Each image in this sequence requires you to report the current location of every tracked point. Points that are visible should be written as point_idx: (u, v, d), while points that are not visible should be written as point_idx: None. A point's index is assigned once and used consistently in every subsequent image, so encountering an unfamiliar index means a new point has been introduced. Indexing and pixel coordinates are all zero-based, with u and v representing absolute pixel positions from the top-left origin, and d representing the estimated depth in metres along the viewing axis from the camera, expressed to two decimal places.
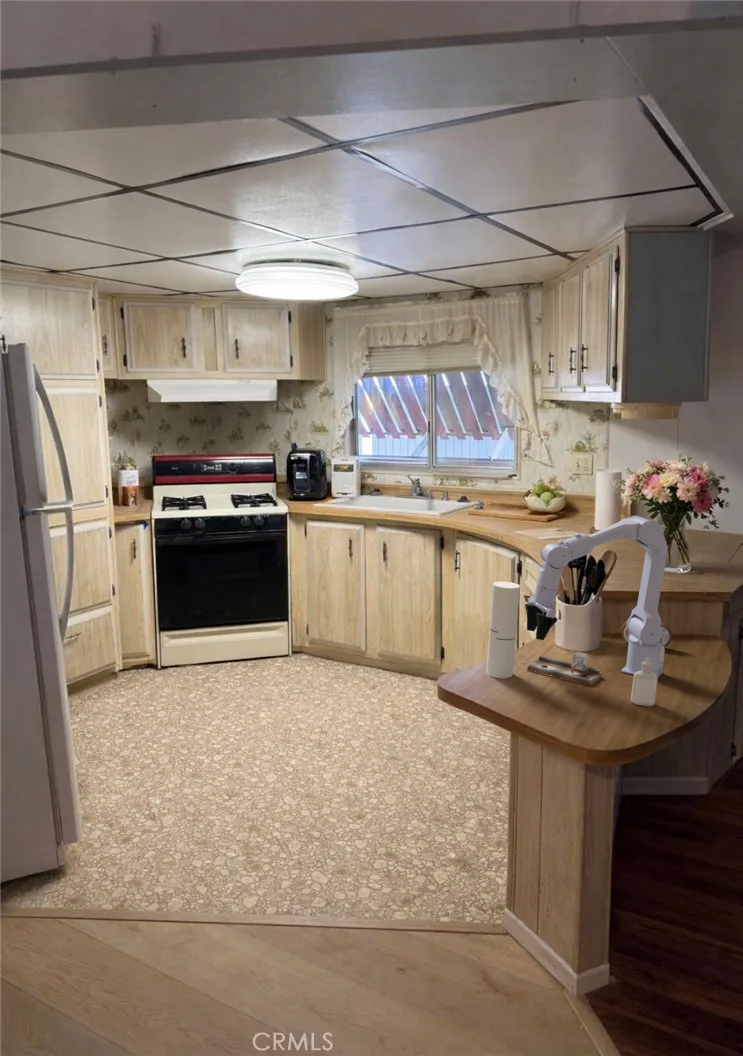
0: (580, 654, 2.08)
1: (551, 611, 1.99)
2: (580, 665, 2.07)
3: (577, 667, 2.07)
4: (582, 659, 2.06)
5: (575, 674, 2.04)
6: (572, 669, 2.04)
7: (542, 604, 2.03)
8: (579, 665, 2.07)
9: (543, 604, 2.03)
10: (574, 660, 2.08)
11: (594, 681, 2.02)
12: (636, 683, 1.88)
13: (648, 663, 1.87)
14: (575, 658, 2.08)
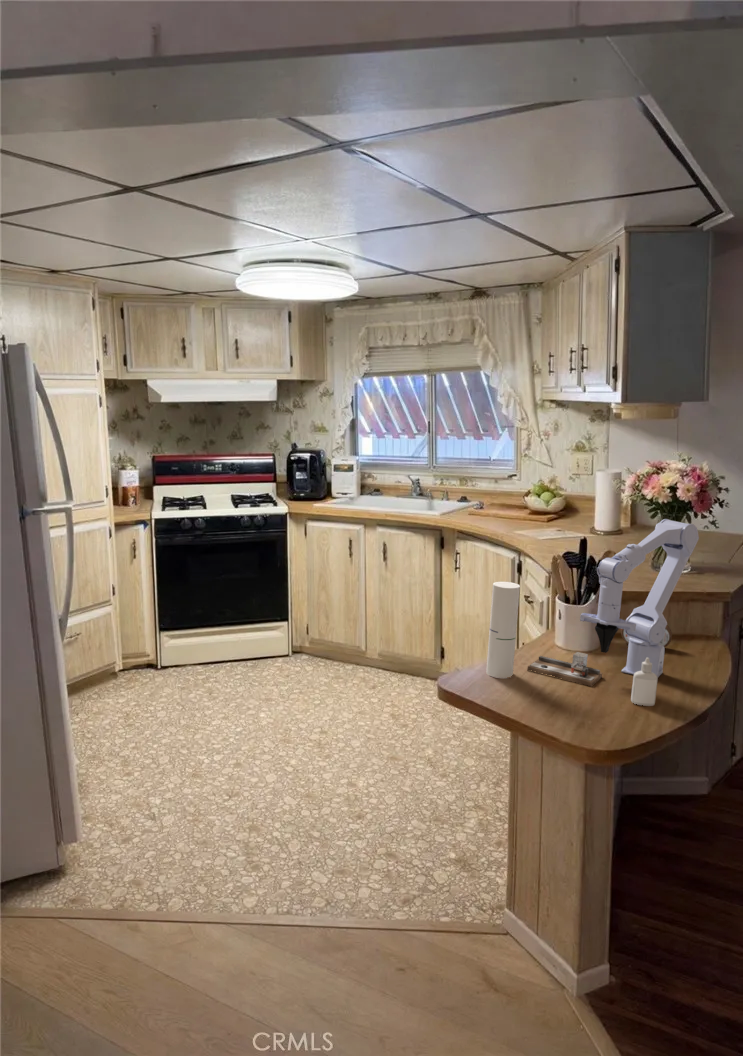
0: (580, 654, 2.08)
1: (634, 625, 1.99)
2: (580, 665, 2.07)
3: (577, 667, 2.07)
4: (582, 659, 2.06)
5: (575, 674, 2.04)
6: (572, 669, 2.04)
7: (616, 621, 2.00)
8: (579, 665, 2.07)
9: (617, 620, 2.00)
10: (574, 660, 2.08)
11: (594, 681, 2.02)
12: (636, 683, 1.88)
13: (648, 663, 1.87)
14: (575, 658, 2.08)
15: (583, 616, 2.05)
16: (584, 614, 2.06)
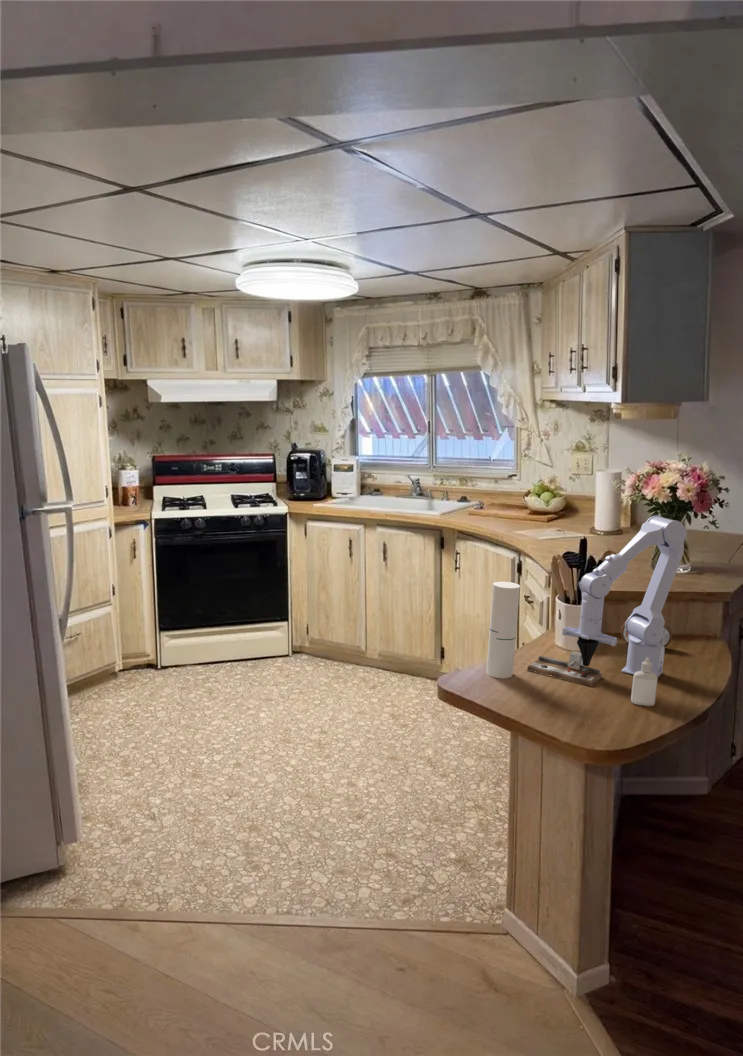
0: (576, 653, 2.09)
1: (615, 639, 2.02)
2: (577, 664, 2.07)
3: (574, 666, 2.08)
4: (579, 658, 2.07)
5: (575, 674, 2.04)
6: (569, 668, 2.04)
7: (597, 635, 2.04)
8: (576, 664, 2.08)
9: (598, 635, 2.04)
10: (571, 659, 2.08)
11: (594, 681, 2.02)
12: (636, 683, 1.88)
13: (648, 663, 1.87)
14: (572, 657, 2.08)
15: (565, 630, 2.09)
16: (566, 628, 2.09)
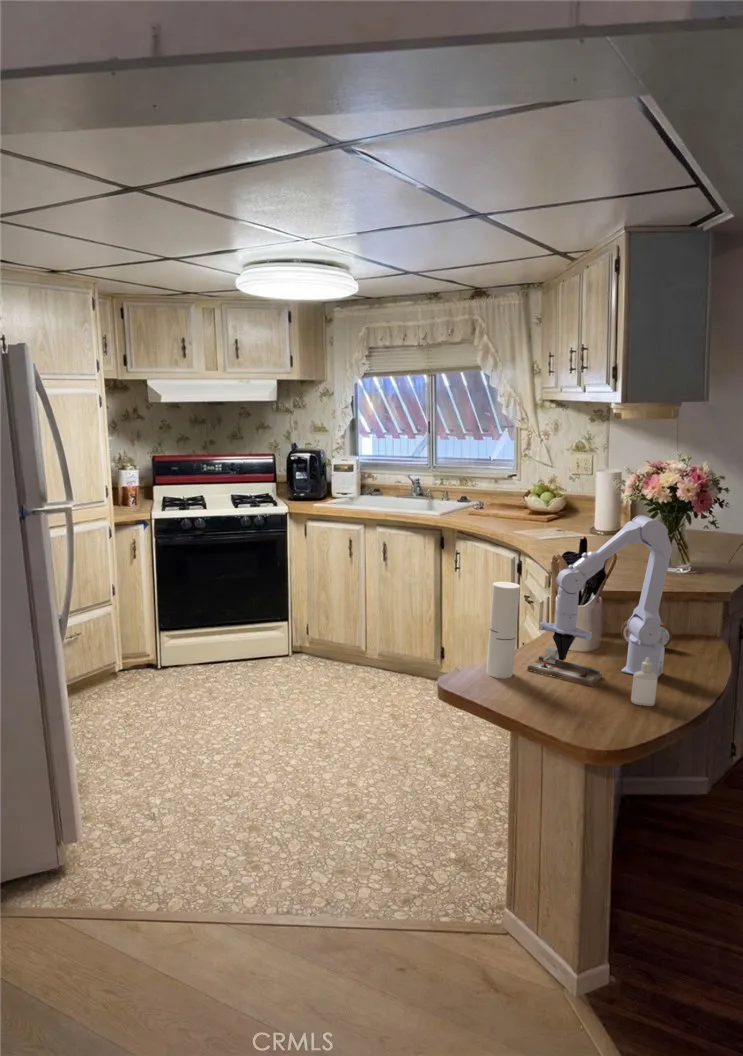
0: (552, 648, 2.13)
1: (590, 634, 2.06)
2: (553, 658, 2.11)
3: (550, 660, 2.12)
4: (554, 653, 2.11)
5: (575, 674, 2.04)
6: (544, 662, 2.08)
7: (572, 630, 2.07)
8: (552, 658, 2.11)
9: (573, 629, 2.08)
10: (547, 654, 2.12)
11: (594, 681, 2.02)
12: (636, 683, 1.88)
13: (648, 663, 1.87)
14: (548, 652, 2.12)
15: (542, 625, 2.13)
16: (543, 623, 2.13)
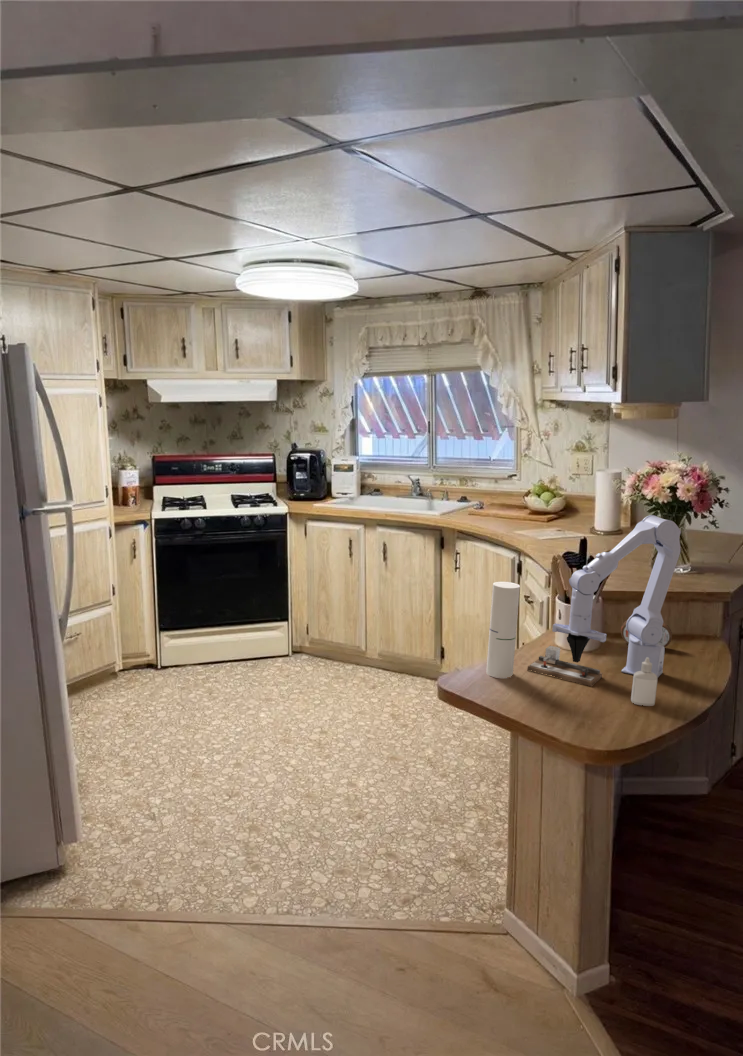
0: (552, 648, 2.13)
1: (605, 636, 2.03)
2: (552, 658, 2.11)
3: (550, 660, 2.12)
4: (554, 653, 2.11)
5: (575, 674, 2.04)
6: (544, 662, 2.08)
7: (587, 631, 2.05)
8: (552, 658, 2.11)
9: (587, 631, 2.05)
10: (547, 654, 2.12)
11: (594, 681, 2.02)
12: (636, 683, 1.88)
13: (648, 663, 1.87)
14: (548, 652, 2.12)
15: (555, 627, 2.10)
16: (556, 625, 2.11)
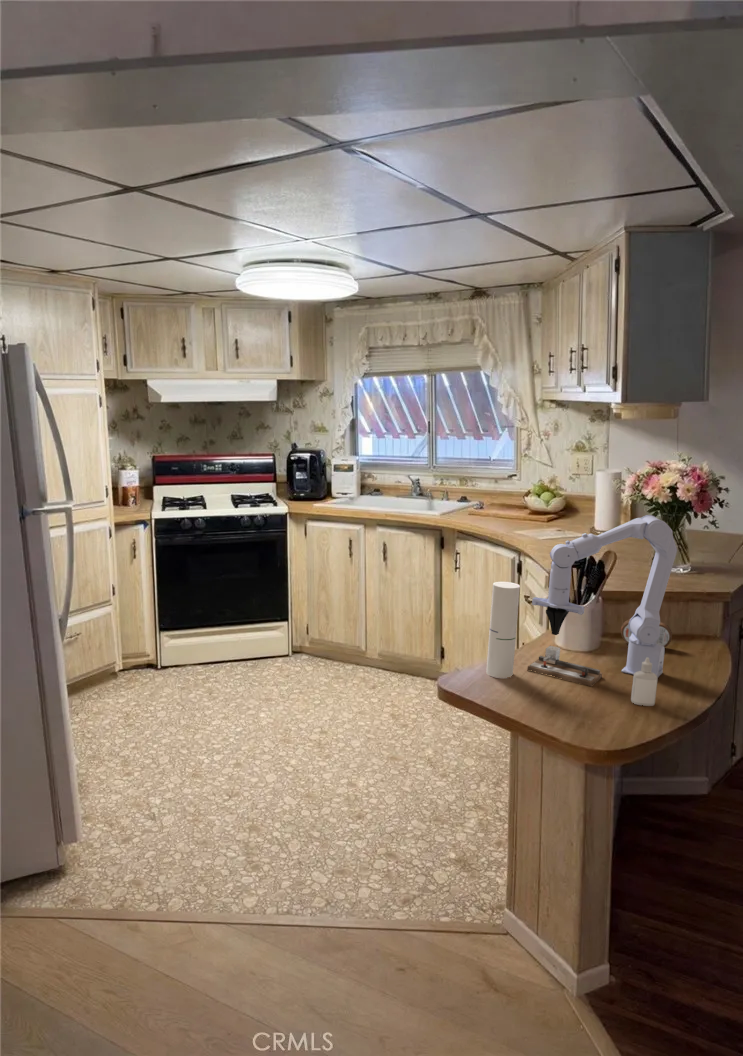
0: (552, 648, 2.13)
1: (583, 608, 2.07)
2: (552, 658, 2.11)
3: (550, 660, 2.12)
4: (554, 653, 2.11)
5: (575, 674, 2.04)
6: (544, 662, 2.08)
7: (565, 604, 2.09)
8: (552, 658, 2.11)
9: (566, 604, 2.09)
10: (547, 654, 2.12)
11: (594, 681, 2.02)
12: (636, 683, 1.88)
13: (648, 663, 1.87)
14: (548, 652, 2.12)
15: (535, 600, 2.14)
16: (536, 598, 2.15)
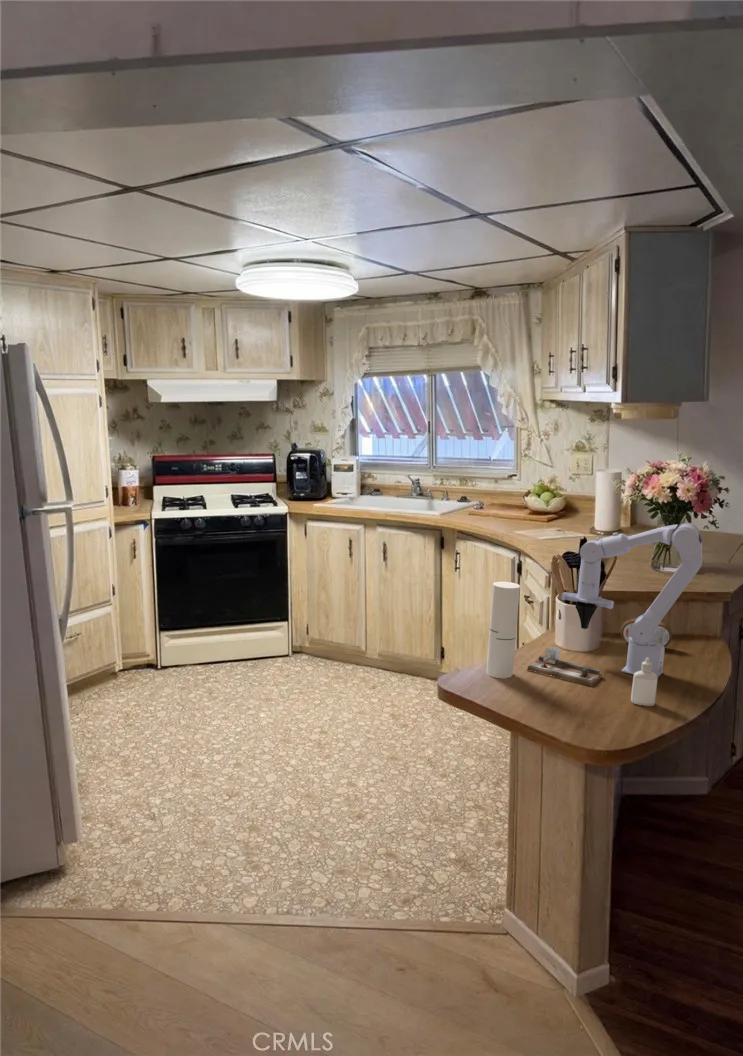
0: (552, 648, 2.13)
1: (612, 603, 2.12)
2: (552, 658, 2.11)
3: (550, 660, 2.12)
4: (554, 653, 2.11)
5: (575, 674, 2.04)
6: (544, 662, 2.08)
7: (595, 599, 2.14)
8: (552, 658, 2.11)
9: (595, 598, 2.14)
10: (547, 654, 2.12)
11: (594, 681, 2.02)
12: (636, 683, 1.88)
13: (648, 663, 1.87)
14: (548, 652, 2.12)
15: (564, 595, 2.19)
16: (565, 593, 2.20)
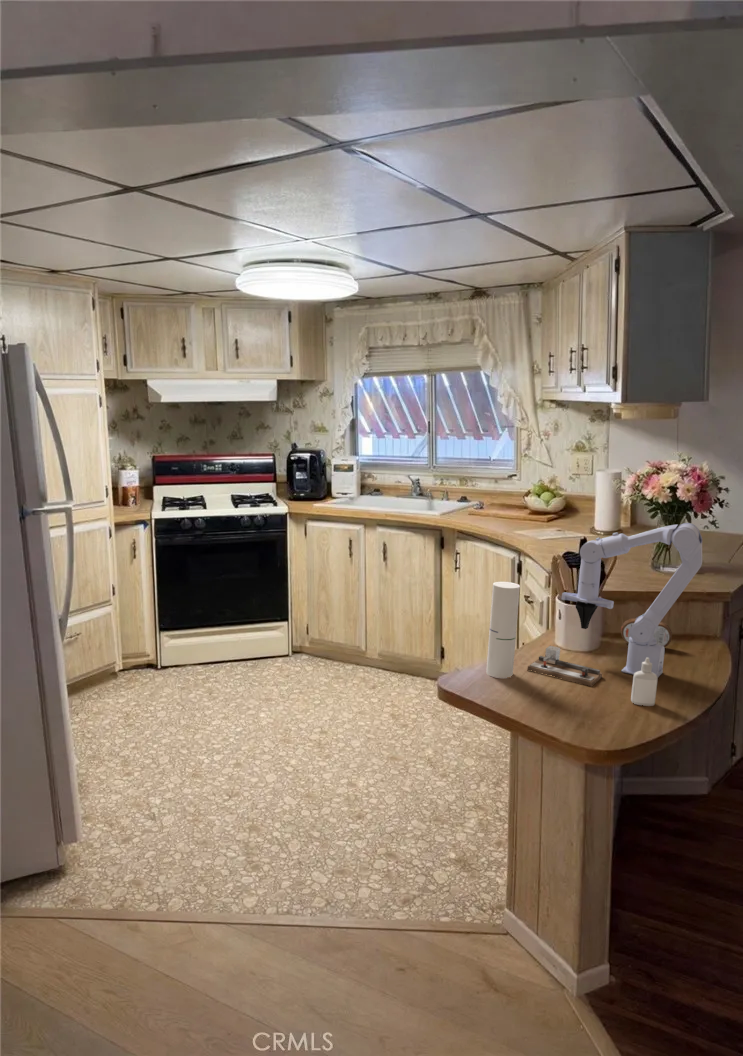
0: (552, 648, 2.13)
1: (612, 603, 2.12)
2: (552, 658, 2.11)
3: (550, 660, 2.12)
4: (554, 653, 2.11)
5: (575, 674, 2.04)
6: (544, 662, 2.08)
7: (595, 599, 2.14)
8: (552, 658, 2.11)
9: (595, 598, 2.14)
10: (547, 654, 2.12)
11: (594, 681, 2.02)
12: (636, 683, 1.88)
13: (648, 663, 1.87)
14: (548, 652, 2.12)
15: (564, 595, 2.19)
16: (565, 593, 2.20)
